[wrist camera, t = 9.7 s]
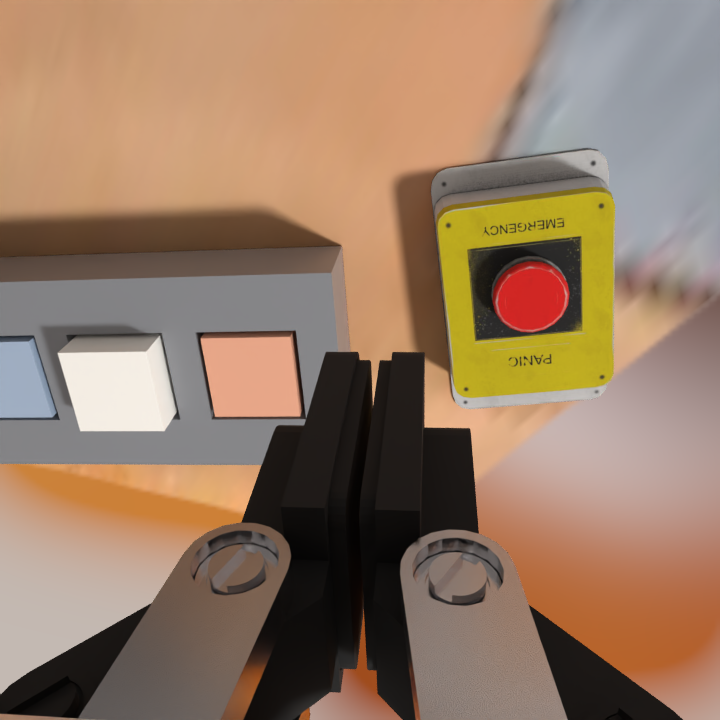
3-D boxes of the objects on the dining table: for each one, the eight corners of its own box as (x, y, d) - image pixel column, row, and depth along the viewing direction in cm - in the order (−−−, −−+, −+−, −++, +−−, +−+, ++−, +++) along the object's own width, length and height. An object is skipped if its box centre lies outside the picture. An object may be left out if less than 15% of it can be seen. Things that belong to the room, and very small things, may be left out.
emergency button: (626, 161, 32) (622, 431, 39) (606, 144, 36) (605, 393, 43) (427, 186, 34) (455, 444, 40) (428, 168, 37) (454, 405, 44)
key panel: (-62, 259, 42) (-114, 285, 38) (341, 246, 39) (331, 272, 35) (-3, 425, 48) (-44, 463, 44) (356, 424, 45) (348, 465, 41)
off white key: (82, 329, 40) (57, 352, 37) (165, 328, 39) (146, 351, 37) (102, 404, 42) (80, 431, 39) (181, 404, 41) (164, 431, 39)
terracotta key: (216, 316, 40) (200, 338, 38) (300, 314, 40) (290, 336, 37) (228, 391, 43) (214, 416, 40) (308, 390, 42) (300, 416, 39)
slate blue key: (-23, 321, 42) (-54, 343, 39) (55, 320, 41) (28, 341, 39) (2, 393, 44) (-26, 417, 42) (75, 392, 44) (52, 417, 41)
